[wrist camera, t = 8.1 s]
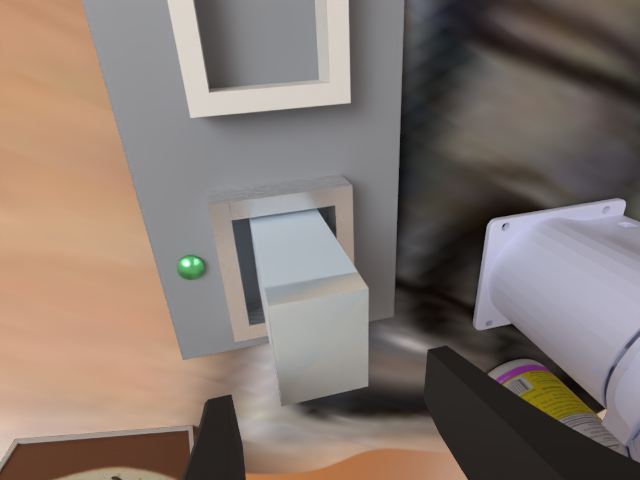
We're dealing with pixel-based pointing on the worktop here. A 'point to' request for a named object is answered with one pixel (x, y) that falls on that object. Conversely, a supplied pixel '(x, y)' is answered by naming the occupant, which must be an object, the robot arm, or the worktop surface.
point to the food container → (101, 456)
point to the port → (264, 202)
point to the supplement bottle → (552, 398)
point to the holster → (266, 96)
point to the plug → (310, 306)
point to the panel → (250, 139)
